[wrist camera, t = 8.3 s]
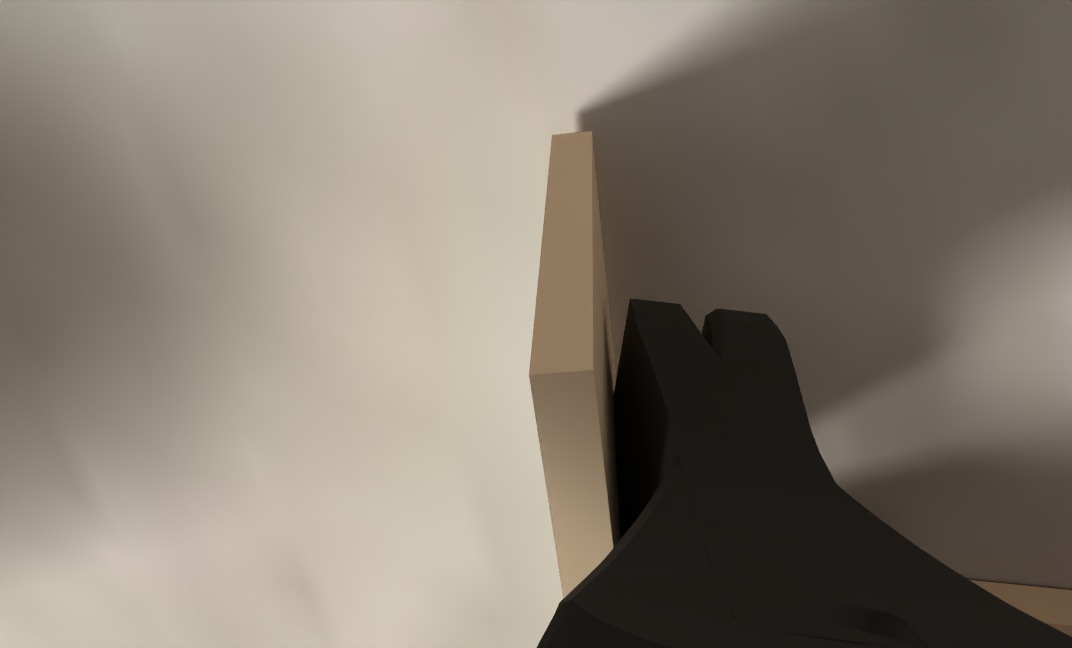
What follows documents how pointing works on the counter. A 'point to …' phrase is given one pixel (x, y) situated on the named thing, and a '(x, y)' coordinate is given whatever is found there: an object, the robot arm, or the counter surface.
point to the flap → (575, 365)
